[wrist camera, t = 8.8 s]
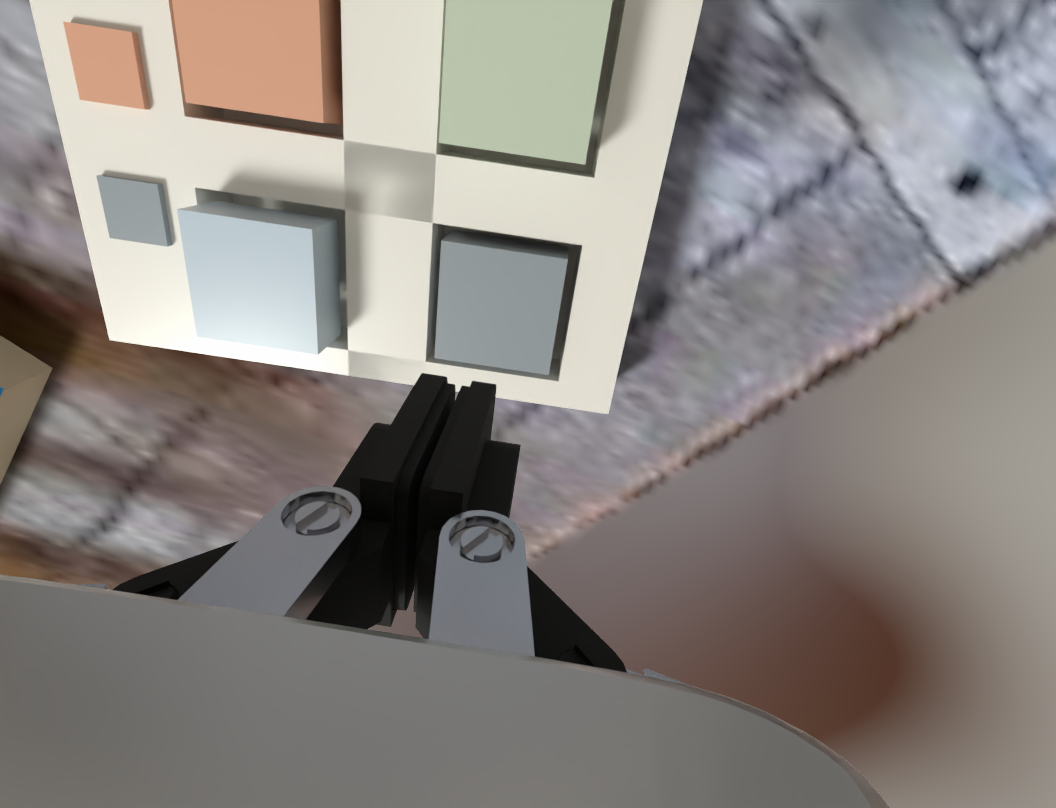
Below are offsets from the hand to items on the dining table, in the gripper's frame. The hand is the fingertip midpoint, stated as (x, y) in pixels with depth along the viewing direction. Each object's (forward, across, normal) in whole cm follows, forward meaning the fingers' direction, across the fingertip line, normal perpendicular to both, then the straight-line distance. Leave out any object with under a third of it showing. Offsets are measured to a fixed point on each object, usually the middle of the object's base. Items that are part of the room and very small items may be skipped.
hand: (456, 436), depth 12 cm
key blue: (+12, +10, +1) cm, 16 cm away
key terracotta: (+14, +10, -8) cm, 18 cm away
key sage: (+12, 0, -8) cm, 15 cm away
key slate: (+13, 0, +1) cm, 14 cm away
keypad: (+15, +6, -3) cm, 16 cm away
